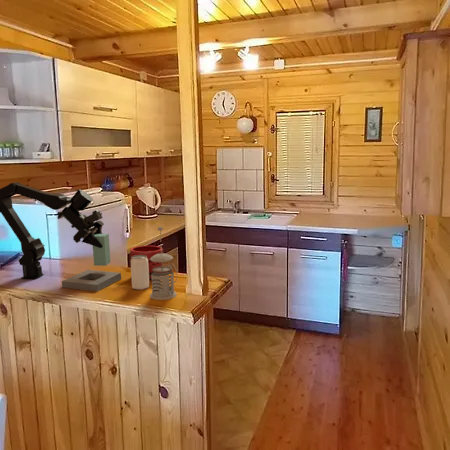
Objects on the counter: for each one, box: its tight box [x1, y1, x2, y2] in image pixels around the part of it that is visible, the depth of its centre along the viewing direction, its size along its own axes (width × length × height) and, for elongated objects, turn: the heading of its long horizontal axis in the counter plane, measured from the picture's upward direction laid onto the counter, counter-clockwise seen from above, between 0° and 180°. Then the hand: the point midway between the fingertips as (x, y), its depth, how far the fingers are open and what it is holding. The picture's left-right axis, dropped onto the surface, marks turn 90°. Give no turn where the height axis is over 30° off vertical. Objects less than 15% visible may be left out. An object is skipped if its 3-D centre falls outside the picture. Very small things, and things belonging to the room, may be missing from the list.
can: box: [130, 255, 150, 291], centre depth 167 cm, size 6×6×12 cm
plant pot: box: [129, 245, 164, 280], centre depth 181 cm, size 13×13×12 cm
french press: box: [149, 226, 178, 301], centre depth 156 cm, size 10×12×25 cm
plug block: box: [92, 233, 111, 267], centre depth 179 cm, size 5×5×12 cm
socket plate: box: [61, 269, 122, 292], centre depth 174 cm, size 16×16×2 cm
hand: (104, 245), depth 178 cm, fingers closed on plug block, 5 cm apart
